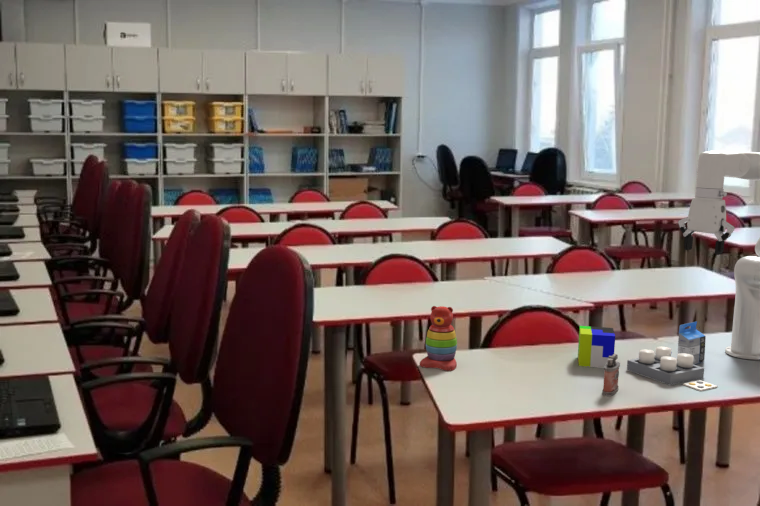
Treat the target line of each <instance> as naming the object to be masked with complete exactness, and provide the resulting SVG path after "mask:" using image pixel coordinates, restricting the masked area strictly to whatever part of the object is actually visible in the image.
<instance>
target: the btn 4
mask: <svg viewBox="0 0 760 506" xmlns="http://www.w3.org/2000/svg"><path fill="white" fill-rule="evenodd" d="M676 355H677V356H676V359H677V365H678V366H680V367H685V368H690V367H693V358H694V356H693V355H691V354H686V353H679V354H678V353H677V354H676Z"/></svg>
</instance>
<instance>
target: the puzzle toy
mask: <svg viewBox="0 0 760 506" xmlns="http://www.w3.org/2000/svg"><path fill="white" fill-rule="evenodd" d="M615 344H616V334H615V331H614V328H613V327H603V326H589V325H579V331H578V349H577V362H578V366H579V367H587V366H589V367H590V368H600V367H604V366H605V364H607V361H608V358H609V356H612V355H613V354H615V347H616V346H615Z"/></svg>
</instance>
